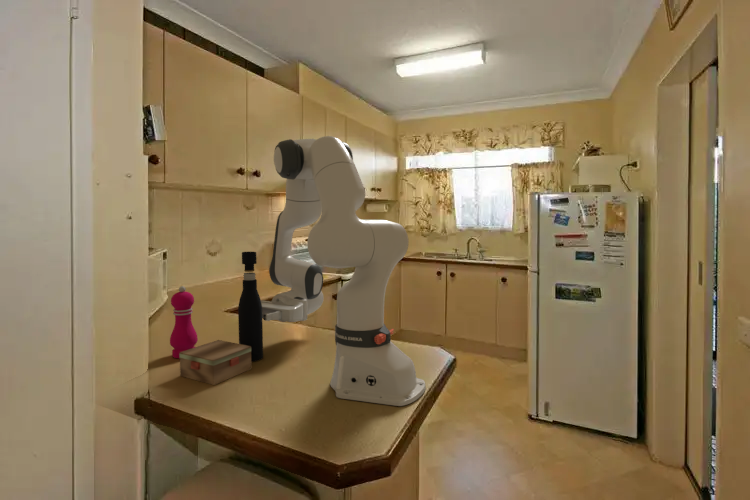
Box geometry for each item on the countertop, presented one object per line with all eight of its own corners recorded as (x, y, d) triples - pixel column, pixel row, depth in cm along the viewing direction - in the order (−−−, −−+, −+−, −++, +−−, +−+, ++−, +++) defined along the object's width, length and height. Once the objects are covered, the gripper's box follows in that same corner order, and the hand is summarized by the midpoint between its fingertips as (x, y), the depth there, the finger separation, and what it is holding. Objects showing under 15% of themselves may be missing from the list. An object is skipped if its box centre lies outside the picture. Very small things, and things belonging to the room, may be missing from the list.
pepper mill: (187, 360, 113) (185, 288, 112) (164, 358, 115) (162, 287, 113) (203, 351, 120) (201, 284, 119) (181, 350, 122) (179, 283, 120)
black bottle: (267, 356, 116) (265, 251, 114) (252, 363, 110) (250, 253, 108) (250, 353, 119) (248, 250, 117) (234, 360, 113) (231, 252, 111)
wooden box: (253, 369, 106) (252, 346, 106) (213, 386, 95) (213, 361, 95) (219, 361, 112) (218, 339, 112) (178, 376, 101) (177, 353, 101)
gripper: (259, 294, 131) (225, 301, 119) (311, 299, 122) (280, 308, 110) (260, 313, 132) (226, 322, 119) (311, 320, 122) (280, 331, 110)
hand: (252, 315), depth 114 cm, fingers open, 8 cm apart
